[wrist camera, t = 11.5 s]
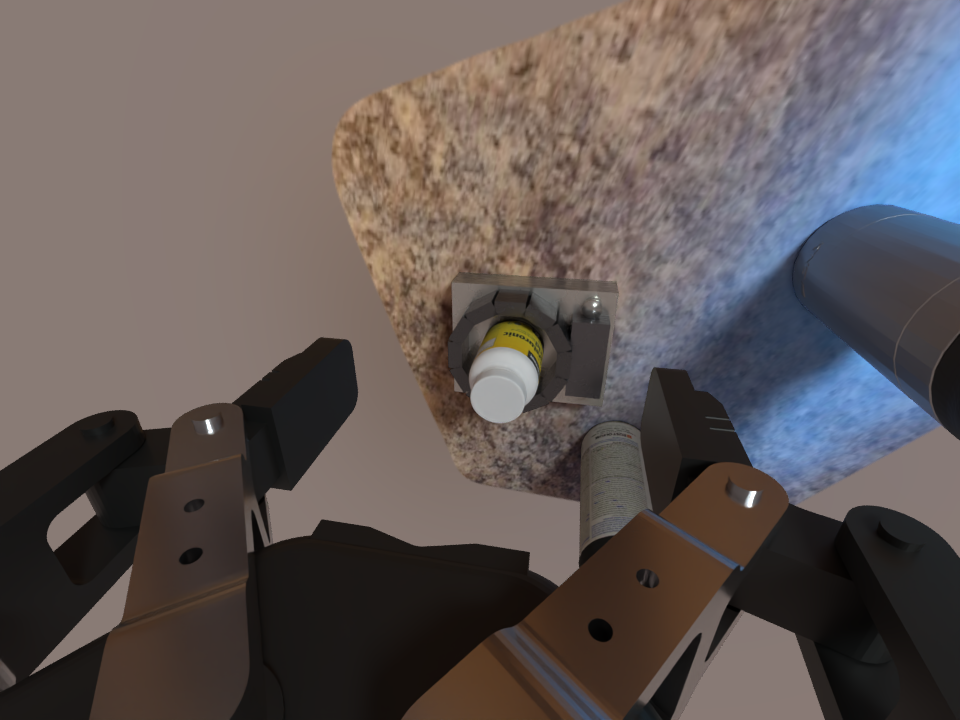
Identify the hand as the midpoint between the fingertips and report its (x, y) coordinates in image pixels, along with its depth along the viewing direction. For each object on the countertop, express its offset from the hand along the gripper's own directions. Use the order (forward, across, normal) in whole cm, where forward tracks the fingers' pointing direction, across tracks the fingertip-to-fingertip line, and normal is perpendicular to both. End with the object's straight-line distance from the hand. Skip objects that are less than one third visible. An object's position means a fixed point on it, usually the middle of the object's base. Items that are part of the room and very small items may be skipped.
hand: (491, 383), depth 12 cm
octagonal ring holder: (+30, +1, +12) cm, 32 cm away
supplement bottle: (+27, +2, +12) cm, 30 cm away
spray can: (+30, -8, +24) cm, 39 cm away
